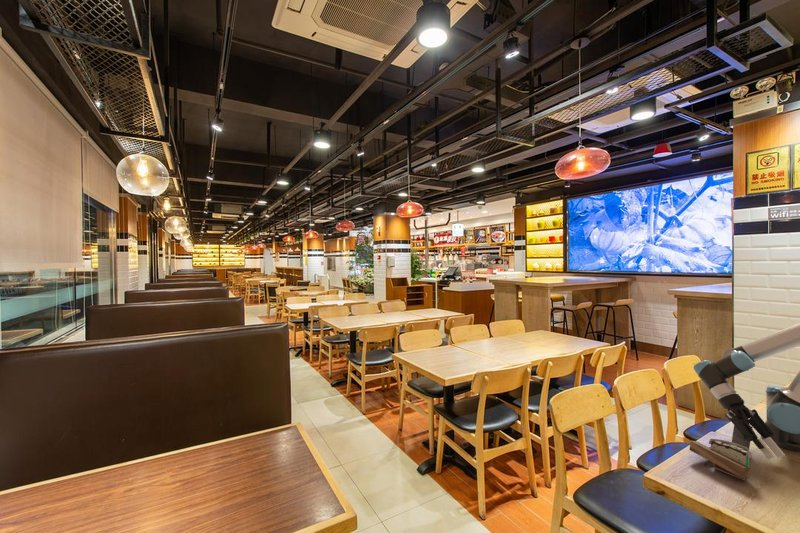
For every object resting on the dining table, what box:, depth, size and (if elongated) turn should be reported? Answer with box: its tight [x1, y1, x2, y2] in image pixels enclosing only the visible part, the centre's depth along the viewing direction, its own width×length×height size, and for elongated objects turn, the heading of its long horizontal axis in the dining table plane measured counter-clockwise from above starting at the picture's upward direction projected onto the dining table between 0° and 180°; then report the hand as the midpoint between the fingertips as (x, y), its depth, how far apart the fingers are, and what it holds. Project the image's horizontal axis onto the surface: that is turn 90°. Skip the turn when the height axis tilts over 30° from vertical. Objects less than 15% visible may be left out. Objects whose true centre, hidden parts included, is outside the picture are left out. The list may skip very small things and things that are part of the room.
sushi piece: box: [708, 438, 753, 481], centre depth 125 cm, size 12×6×10 cm, turn 15°
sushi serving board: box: [689, 425, 754, 479], centre depth 129 cm, size 26×17×11 cm, turn 104°
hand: (776, 457), depth 130 cm, fingers open, 4 cm apart
